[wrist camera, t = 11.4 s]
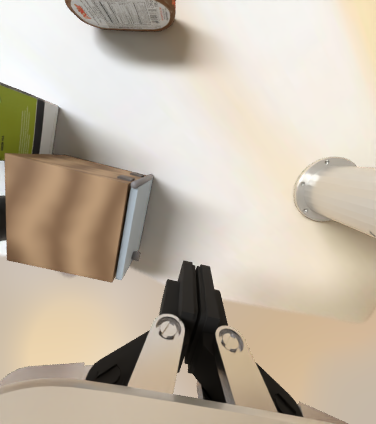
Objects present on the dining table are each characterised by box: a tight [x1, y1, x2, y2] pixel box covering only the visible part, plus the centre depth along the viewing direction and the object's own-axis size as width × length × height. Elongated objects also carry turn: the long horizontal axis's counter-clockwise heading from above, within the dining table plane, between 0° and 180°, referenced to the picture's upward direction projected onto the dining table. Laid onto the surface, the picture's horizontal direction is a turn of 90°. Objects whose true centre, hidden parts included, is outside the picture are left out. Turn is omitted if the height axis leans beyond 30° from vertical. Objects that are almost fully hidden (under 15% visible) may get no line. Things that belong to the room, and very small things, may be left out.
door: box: [116, 174, 153, 280], centre depth 33 cm, size 2×16×11 cm, turn 166°
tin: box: [65, 0, 176, 31], centre depth 26 cm, size 15×3×8 cm, turn 88°
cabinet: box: [5, 153, 146, 282], centre depth 32 cm, size 16×16×12 cm
